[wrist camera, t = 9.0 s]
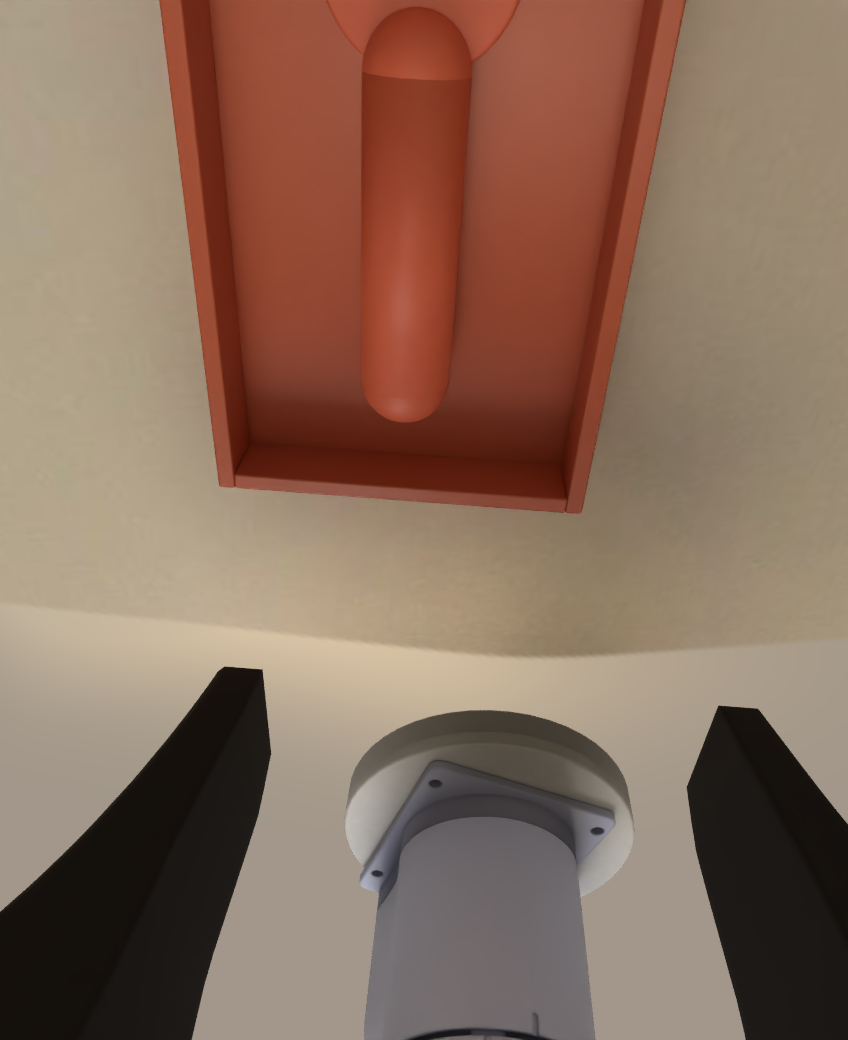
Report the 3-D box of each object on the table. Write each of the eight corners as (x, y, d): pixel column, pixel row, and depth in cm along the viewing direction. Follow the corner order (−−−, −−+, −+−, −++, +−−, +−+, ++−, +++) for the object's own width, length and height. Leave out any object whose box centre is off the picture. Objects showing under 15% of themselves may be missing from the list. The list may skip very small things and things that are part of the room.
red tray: (573, 469, 20) (581, 515, 19) (240, 444, 21) (218, 487, 19) (729, -361, 12) (772, -420, 10) (157, -391, 12) (102, -451, 10)
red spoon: (480, 403, 19) (480, 444, 17) (333, 392, 19) (319, 432, 17) (539, -170, 13) (547, -192, 11) (322, -183, 13) (299, -206, 11)
